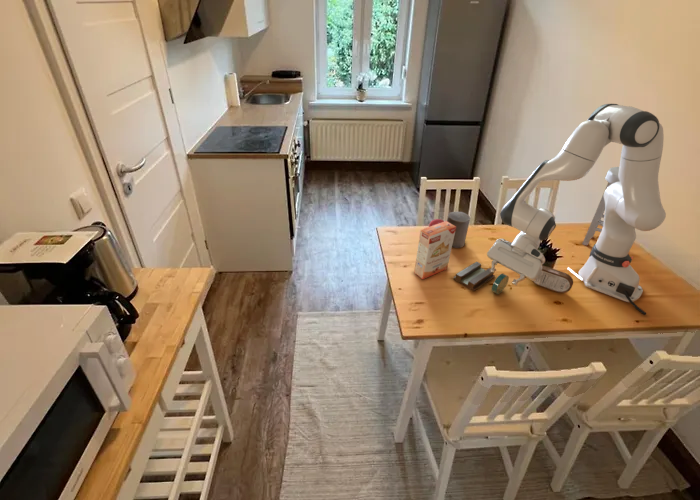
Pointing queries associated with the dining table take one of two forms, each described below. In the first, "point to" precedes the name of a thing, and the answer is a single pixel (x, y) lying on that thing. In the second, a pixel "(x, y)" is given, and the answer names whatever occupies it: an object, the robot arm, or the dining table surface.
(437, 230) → the cracker box
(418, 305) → the dining table surface
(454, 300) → the dining table surface
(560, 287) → the tin
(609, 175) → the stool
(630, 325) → the dining table surface
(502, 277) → the disc
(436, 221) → the lollipop
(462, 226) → the pillar candle
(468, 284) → the stand
